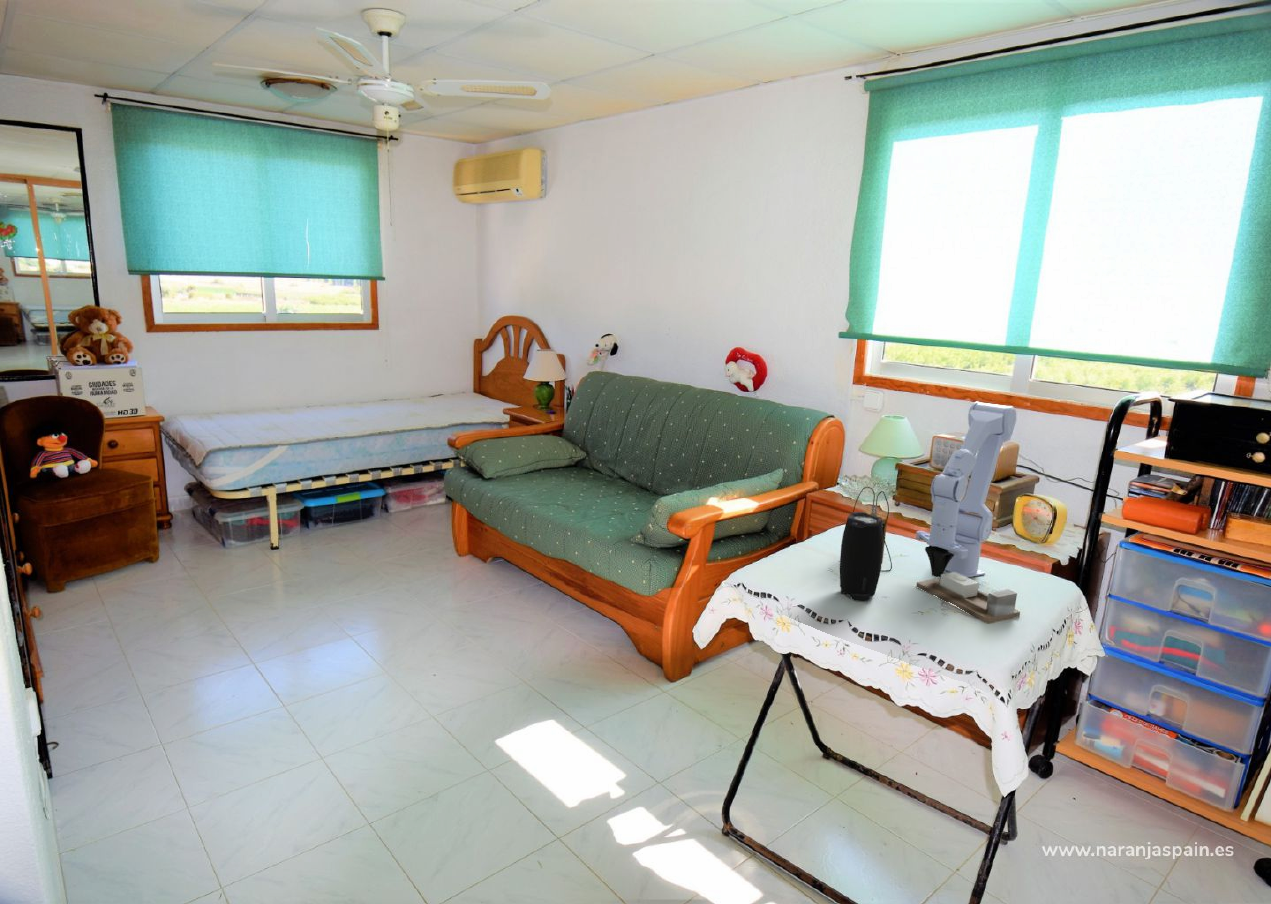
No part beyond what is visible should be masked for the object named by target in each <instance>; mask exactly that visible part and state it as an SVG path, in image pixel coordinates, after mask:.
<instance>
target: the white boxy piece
mask: <svg viewBox="0 0 1271 904" xmlns="http://www.w3.org/2000/svg"><path fill="white" fill-rule="evenodd" d="M939 578H940V582H939V584H940V585H941V586H943V587H945V588H947V589H949V590H951V591H953V592H955V593H957V594H959V595H961V596H963V597H965V598H967V597H972V596H977V592H978V590H979V583H980V582H978V581H976V580H973V579H971V578H970V577H965V576H963V575H961V574H959V573H957V572H946V573H943V574H941V575H940V577H939Z"/></svg>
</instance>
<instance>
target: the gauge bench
mask: <svg viewBox="0 0 1271 904" xmlns="http://www.w3.org/2000/svg"><path fill="white" fill-rule="evenodd" d="M939 582H940V577H937V578H933V579H928V580H923V581H917V582H916V586H915V587H916V588H917V587H918V588H917V589H919V588H920V589H919V590H921V589H922V590H921V591H923V590H924V592H925V591H926V592H925V593H927V594H929V595H931V596H933V595H935V596H937V597H938V598H937V597H936V598H937V599H939V598H940V599H939V600H941V599H942V600H944V601H946V602H950V603H952V604H954V605H956V606H957V607H959V608H960V609H962V610H964V611H965V612H964V611H963V612H964V613H966V612H967V613H969V614H970V615H969V614H968V615H969V616H971V617H973V618H975V619H977V620H979V621H981V622H982V623H985V624H992V623H997V622H1001V621H1005V620H1006V621H1007V620H1010V619H1014V617H1016V618H1019V617H1020V615H1021V611H1019V610H1017V609H1015V608H1016V603H1017V597H1018V593H1017V592H1015V591H1013V590H1011V589H1009V588H1007V589H1002V590H996V591H991V592H988V593H985V592H982V591H980V590H979V589H978V592H977V596H972V597H967V598H965V597H963V596H961V595H959V594H957V593H955V592H953V591H951V590H949V589H947V588H945V587H943V586H941V585H940V584H939ZM935 596H934V597H935ZM942 600H941V601H942ZM944 601H943V602H944ZM946 602H945V603H946ZM960 609H959V610H960ZM962 610H961V611H962ZM967 613H966V614H967Z"/></svg>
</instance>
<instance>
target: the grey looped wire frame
mask: <svg viewBox="0 0 1271 904" xmlns="http://www.w3.org/2000/svg"><path fill="white" fill-rule="evenodd" d="M866 488H867V489H870V490H871V491H872V493H873V499H872V500H873V501H872V508H871V510H867V511H863V512H865V513H867V514H870V515H873V516H876V517H882V522H883V524H882V529H883V552H882V562H883V560H884V551H885V547H886V551H887V554H888V557H889V561H890V569H887V570H882V569H881V572H890V571H892V568H893V562H892V558H891V554H890V551H889V548H888V546H887V545H888V544H887V543H886V542H887V541H886V533H887V527H888V526H887V525H888V519H889V514H890V507H889V502H888V498H887V497H886V496H887V495H886V494H885V492H884V491H883V490H881V491H880V492H879V493H878V494H877V496H876V494H875V491H874V489H873V488H872V487H870V486H864V487H863V488H862V489H861V491H860V492H859V494H858V495H857V498H856V501H855V503H854V506H853V509H852V512H855V509H856V506H857V502H858V500H859V497H860V496H861V494H862V492H863V491H864V490H865V489H866ZM881 493H883V496H884V499H885V501H886V504H887V514H886V515H887V516H882V515H880V514H877V513H878V509H877V508H878V498H879V496H880V494H881ZM875 496H876V500H875ZM838 563H840V560H838Z"/></svg>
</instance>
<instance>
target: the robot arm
mask: <svg viewBox="0 0 1271 904" xmlns="http://www.w3.org/2000/svg"><path fill="white" fill-rule="evenodd" d="M967 420H968V421H967V422H968V427H969V428H968V430H967V433H966V435H965V437H964V439H963V442H962V443H961V447H960V449H957V450H954V451H953V452H952V453H951V456H950V457H949V460H948V461H947V463H946V465H945V467H944V468H943V470H942V471H941V473H940V474H937V475H935V476H934V478H933V480H932V482H931V486H930V495H931V503H932V504H933V506H932V513H931V521H930V529H929V532H926V531H924V530H918V531H916V534H915V539H916V540H918V541H923V542H924V543H926V545H928V546H926V547H924V551H925V553H926V555H927V557H928V560H929V565H930V570H931V571H930V572H931V576H932V577H935V578H940V575H941V574H945V573H944V572H945V571H947V572H948V573H951V572H957V573H959V574H961V575H963V576H965V577H967V578H972V577H977V576H982V575H983V576H984V575H986V572H985V571H983V570H981V569H979V563H980V558H981V557H980V555H981V549H982V543H984V542H986V541H987V540H988V539H989V538H990V536H991V533H992V529H993V520H994V515H993V513H992V511H991V510H990V509H989V508H988V507H987V506H986V504H985V503H986V500H987V497H988V494H989V490H990V486H991V483H992V480H993V476H994V473H995V470H996V467H997V464H998V463H997V462H998V460H999V456H1000V452H1001V449H1002V447H1003V444H1004V443H1005V442H1008V441H1010V440H1011V437H1012V435H1013V432H1014V429H1015V425H1016V422H1017V410H1016V408H1015V407H1014V406H1013V405H1001V404H993V403H986V402H981V401H979V400H978V401H974V402H973V403H972V404H971V405H970V408H969V410H968V415H967ZM968 479H969V480H968ZM963 498H964V499H963Z"/></svg>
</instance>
